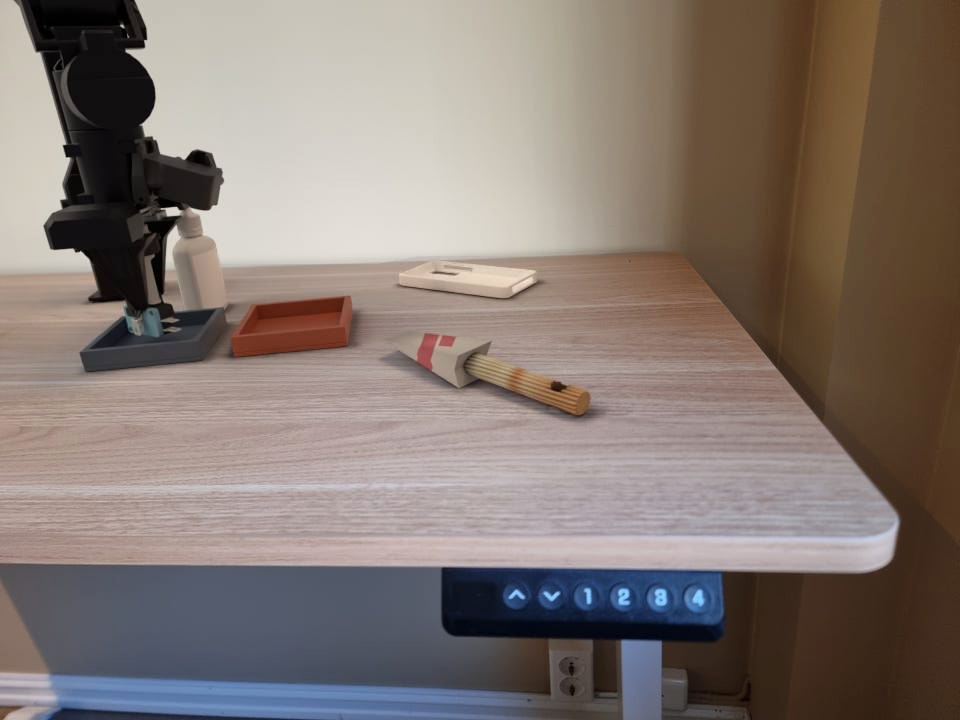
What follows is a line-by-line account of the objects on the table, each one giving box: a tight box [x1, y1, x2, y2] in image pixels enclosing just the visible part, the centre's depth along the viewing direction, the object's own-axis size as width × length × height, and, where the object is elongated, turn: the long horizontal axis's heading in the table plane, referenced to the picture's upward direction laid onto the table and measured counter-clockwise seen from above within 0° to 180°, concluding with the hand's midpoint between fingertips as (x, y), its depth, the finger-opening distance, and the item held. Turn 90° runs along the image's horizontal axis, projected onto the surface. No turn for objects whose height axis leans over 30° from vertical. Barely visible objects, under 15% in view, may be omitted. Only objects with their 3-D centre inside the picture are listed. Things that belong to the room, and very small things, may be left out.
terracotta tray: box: [230, 294, 354, 358], centre depth 67 cm, size 10×10×2 cm
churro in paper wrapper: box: [383, 330, 592, 416], centre depth 53 cm, size 4×3×20 cm
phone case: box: [398, 260, 538, 299], centre depth 79 cm, size 7×1×15 cm
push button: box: [122, 224, 182, 337], centre depth 63 cm, size 7×5×10 cm
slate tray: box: [78, 307, 228, 373], centre depth 65 cm, size 10×10×2 cm
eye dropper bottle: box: [171, 207, 229, 311], centre depth 73 cm, size 4×6×12 cm
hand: (150, 302), depth 64 cm, fingers closed on push button, 4 cm apart
